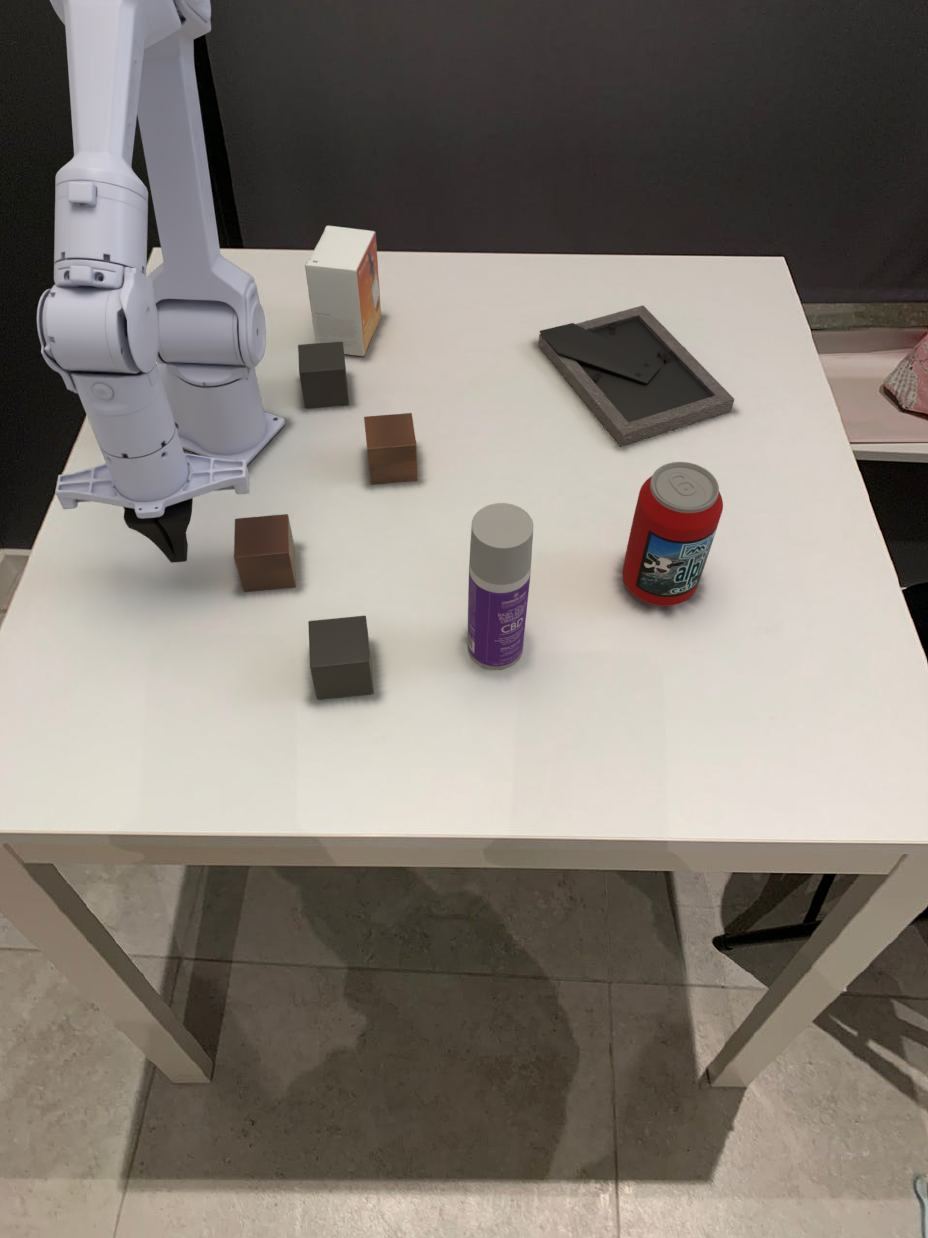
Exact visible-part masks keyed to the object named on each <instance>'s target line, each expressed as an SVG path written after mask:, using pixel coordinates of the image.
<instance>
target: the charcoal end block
mask: <svg viewBox="0 0 928 1238" xmlns="http://www.w3.org/2000/svg"><path fill="white" fill-rule="evenodd" d="M297 349H298V350H297V351H298V375H299V380H300V386H301V392H302V399H303V404H304V409H312V408H313V409H314V408H325V407H326V408H327V407H337V406H339V407H340V406H349V405H350V398H349V385H348V375H347V367H346V357H345V354H344V348H343V342H330V343H316V342H315V343H304V344H298V345H297Z"/></svg>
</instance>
